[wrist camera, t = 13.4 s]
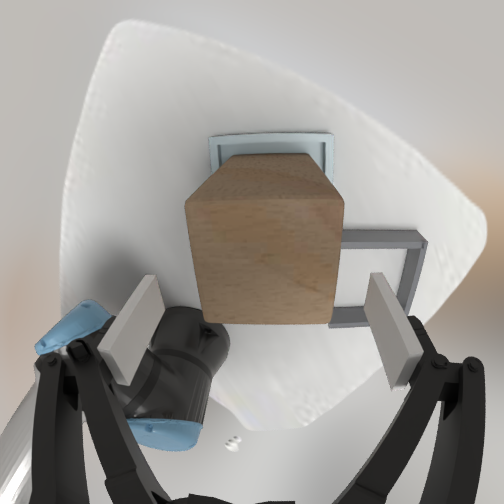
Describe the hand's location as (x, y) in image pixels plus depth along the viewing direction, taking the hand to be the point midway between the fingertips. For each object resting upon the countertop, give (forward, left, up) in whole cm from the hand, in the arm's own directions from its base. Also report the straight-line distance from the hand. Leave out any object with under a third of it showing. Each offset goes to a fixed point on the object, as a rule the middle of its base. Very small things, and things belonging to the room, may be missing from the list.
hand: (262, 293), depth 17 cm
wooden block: (0, 0, -23) cm, 23 cm away
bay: (+15, -13, -23) cm, 31 cm away
